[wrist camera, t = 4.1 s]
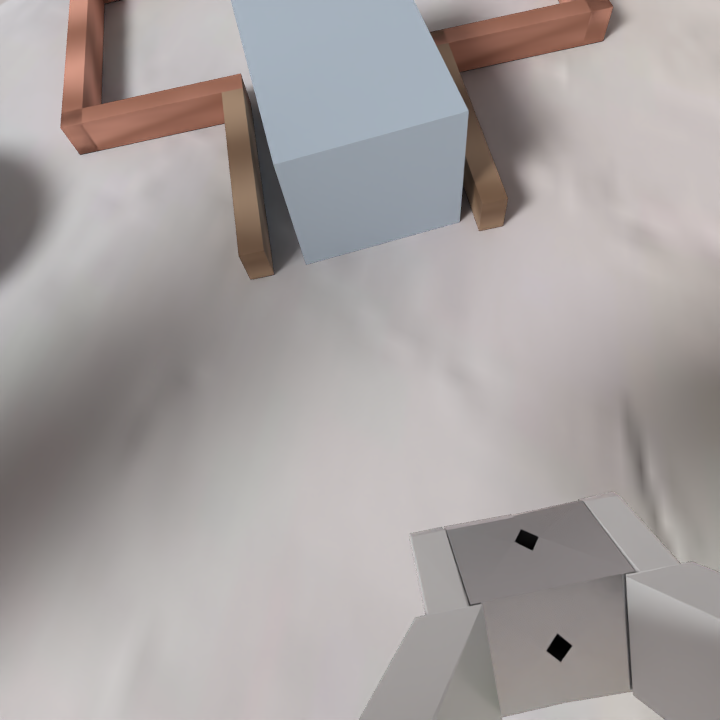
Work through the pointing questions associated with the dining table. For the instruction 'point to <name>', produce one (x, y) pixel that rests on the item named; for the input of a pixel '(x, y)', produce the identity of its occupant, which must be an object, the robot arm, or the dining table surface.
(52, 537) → the dining table surface
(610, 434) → the dining table surface
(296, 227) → the slate block
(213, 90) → the channel
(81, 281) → the dining table surface
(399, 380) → the dining table surface
